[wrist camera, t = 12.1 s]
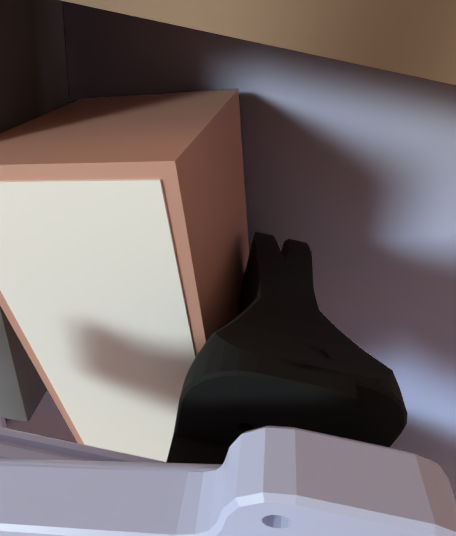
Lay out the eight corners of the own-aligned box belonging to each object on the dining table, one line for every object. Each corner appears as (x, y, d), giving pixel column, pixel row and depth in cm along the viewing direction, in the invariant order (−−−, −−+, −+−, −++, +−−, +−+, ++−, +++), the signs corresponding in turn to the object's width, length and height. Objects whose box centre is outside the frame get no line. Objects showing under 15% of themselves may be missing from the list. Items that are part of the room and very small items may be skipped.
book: (147, 329, 18) (83, 455, 13) (81, 98, 12) (-81, 167, 7) (254, 337, 16) (228, 478, 12) (238, 89, 11) (174, 161, 6)
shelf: (59, 321, 18) (-5, 416, 14) (9, -87, 9) (-193, -155, 5) (410, 391, 18) (449, 504, 14) (661, 55, 10) (936, 93, 6)
